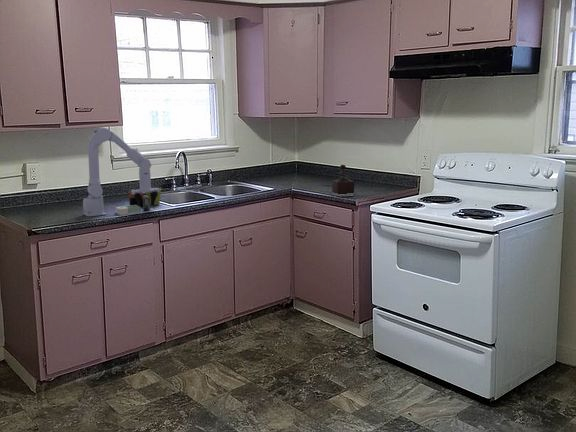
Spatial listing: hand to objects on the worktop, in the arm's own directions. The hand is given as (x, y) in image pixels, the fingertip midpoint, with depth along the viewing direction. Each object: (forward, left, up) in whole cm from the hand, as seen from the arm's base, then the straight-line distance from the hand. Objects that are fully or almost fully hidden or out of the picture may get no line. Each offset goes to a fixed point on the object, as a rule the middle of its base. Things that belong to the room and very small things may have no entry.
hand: (146, 206), depth 307 cm
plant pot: (+10, +14, -2) cm, 17 cm away
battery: (-1, +11, -2) cm, 11 cm away
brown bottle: (+117, -21, -2) cm, 118 cm away
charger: (-10, -1, -2) cm, 10 cm away
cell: (0, 0, -2) cm, 2 cm away
